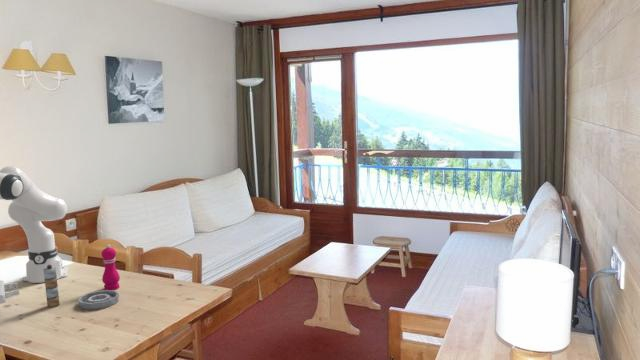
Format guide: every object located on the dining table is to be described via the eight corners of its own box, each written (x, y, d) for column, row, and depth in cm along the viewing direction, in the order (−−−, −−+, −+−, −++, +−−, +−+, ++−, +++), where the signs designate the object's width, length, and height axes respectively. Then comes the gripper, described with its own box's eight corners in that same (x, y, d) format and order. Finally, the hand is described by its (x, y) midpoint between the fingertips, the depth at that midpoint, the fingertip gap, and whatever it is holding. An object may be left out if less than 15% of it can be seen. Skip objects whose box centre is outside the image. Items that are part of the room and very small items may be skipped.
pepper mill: (114, 291, 223) (110, 246, 220) (99, 290, 224) (95, 246, 221) (123, 285, 230) (120, 242, 227) (109, 285, 231) (105, 242, 228)
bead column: (49, 304, 210) (44, 263, 207) (60, 302, 211) (56, 262, 208) (46, 308, 205) (41, 266, 203) (57, 306, 206) (53, 265, 204)
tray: (83, 298, 215) (83, 292, 215) (121, 294, 218) (121, 288, 218) (75, 311, 201) (74, 305, 200) (115, 307, 204) (115, 301, 203)
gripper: (-26, 296, 184) (18, 288, 191) (-24, 281, 201) (16, 274, 209) (-24, 312, 185) (20, 304, 192) (-23, 296, 202) (18, 289, 209)
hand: (18, 288), depth 201 cm, fingers open, 8 cm apart
